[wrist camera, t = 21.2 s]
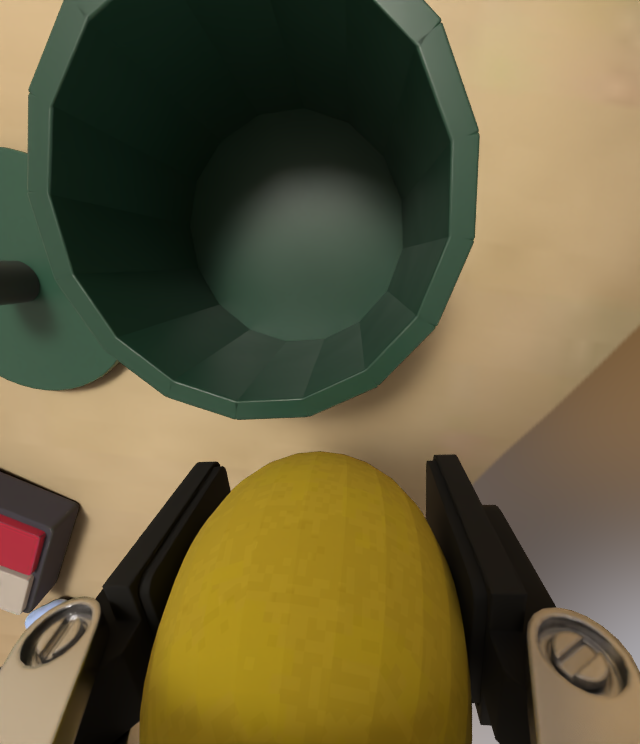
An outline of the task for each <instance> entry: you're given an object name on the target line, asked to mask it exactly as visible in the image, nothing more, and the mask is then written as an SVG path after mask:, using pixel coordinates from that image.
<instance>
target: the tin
mask: <svg viewBox="0 0 640 744" xmlns="http://www.w3.org/2000/svg"><path fill="white" fill-rule="evenodd" d="M440 22H441V18H440V17H439V16H438V15H437V14H436V13H435V12H434V11H433V10H432V9H431V7H430V6H429V5H428V4H427V3H426V2H425V1H424V0H64V1H63V3H62V6H61V8H60V11H59V14H58V16H57V19H56V21H55V24H54V26H53V29H52V31H51V34H50V36H49V39H48V41H47V44H46V46H45V49H44V51H43V54H42V57H41V59H40V62H39V64H38V67H37V69H36V72H35V74H34V77H33V79H32V82H31V84H30V87H29V92H30V93H29V95H28V171H27V190H28V191H29V192H28V193H27V194H28V198H29V201H30V204H31V207H32V210H33V213H34V216H35V219H36V223H37V226H38V229H39V232H40V235H41V238H42V241H43V245H44V248H45V251H46V254H47V257H48V260H49V263H50V266H51V270H52V273H53V276H54V279H55V280H56V283H57V284H58V286H59V287H60V288H61V290H62V291H63V293H64V294H65V295H66V297H67V298H68V300H69V301H70V303H71V304H72V305H73V307H74V308H75V310H76V311H77V312H78V314H79V315H80V317H81V318H82V320H83V321H84V322H85V324H86V325H87V327H88V328H89V329H90V331H91V332H92V334H93V335H94V337H95V338H96V339H97V341H98V342H99V344H100V345H101V346H102V348H103V349H105V351H106V352H107V353H108V354H110V355H111V356H112V357H114V358H115V359H116V360H118V361H119V362H120V363H121V364H123V365H124V366H125V367H127V368H128V369H129V370H131V371H132V372H133V373H135V374H136V375H137V376H139V377H140V378H141V379H143V380H144V381H145V382H147V383H148V384H149V385H151V386H152V387H153V388H155V389H156V390H157V391H159V392H160V393H161V394H163V395H164V396H165V397H168V398H171V399H174V400H177V401H180V402H183V403H186V404H189V405H192V406H195V407H199V408H202V409H205V410H208V411H211V412H214V413H217V414H220V415H223V416H226V417H229V418H232V419H237V420H246V419H271V418H295V417H308V416H312V415H315V414H317V413H319V412H321V411H324V410H326V409H328V408H331V407H333V406H335V405H337V404H340V403H342V402H344V401H346V400H349V399H351V398H353V397H356V396H358V395H360V394H362V393H365V392H367V391H369V390H371V389H374V388H376V387H377V385H380V384H381V383H382V382H383V381H384V380H385V379H386V378H387V377H388V376H389V375H390V374H391V373H392V372H393V371H394V370H395V369H396V368H397V367H398V366H399V365H400V364H401V363H402V362H403V361H404V360H405V359H406V358H407V357H408V356H409V355H410V354H411V353H412V352H413V351H414V349H415V348H416V347H417V346H418V345H419V344H420V343H421V342H422V341H423V340H424V339H425V338H426V337H427V336H428V335H429V334H430V333H431V332H432V331H433V330H434V329H435V326H437V325H438V323H439V321H440V319H441V316H442V314H443V312H444V309H445V307H446V305H447V302H448V300H449V298H450V296H451V293H452V291H453V289H454V286H455V284H456V282H457V280H458V277H459V275H460V273H461V270H462V268H463V266H464V264H465V261H466V259H467V257H468V254H469V252H470V250H471V247H472V245H473V243H474V241H473V240H474V238H475V222H476V201H477V180H478V159H479V138H480V136H479V133H478V131H479V129H478V126H477V123H476V120H475V117H474V114H473V111H472V108H471V105H470V102H469V100H468V97H467V94H466V91H465V88H464V85H463V82H462V79H461V76H460V73H459V70H458V67H457V64H456V61H455V59H454V56H453V53H452V50H451V47H450V44H449V41H448V38H447V35H446V32H445V29H444V26H443V24H442V23H440Z"/></svg>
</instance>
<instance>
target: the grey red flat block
mask: <svg viewBox="0 0 640 744" xmlns="http://www.w3.org/2000/svg"><path fill="white" fill-rule="evenodd" d="M78 510H79V505H78V504H77V503H76V502H74V501H71V500H69V499H67V498H64V497H62V496H59V495H57V494H54V493H52V492H49V491H47V490H44V489H42V488H39V487H37V486H34V485H32V484H29V483H27V482H25V481H22V480H20V479H17V478H15V477H12V476H10V475H7V474H5V473H2V472H0V609H2V610H5V611H8V612H11V613H13V614H16V615H20V614H21V613H22V612H25V613H30V612H31V611H32V610H33V609H34V608H35V607H36V606H37V605H38V603H39V602H40V601H41V600H42V599H43V598H44V596H45V595H46V594H47V593H48V592H49V591H50V589H51V588H52V587H53V586H54V585H55V583H56V581H57V578H58V575H59V572H60V568H61V565H62V562H63V559H64V555H65V552H66V549H67V546H68V542H69V539H70V536H71V533H72V529H73V526H74V523H75V520H76V516H77V513H78Z"/></svg>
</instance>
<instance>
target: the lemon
mask: <svg viewBox="0 0 640 744" xmlns="http://www.w3.org/2000/svg"><path fill="white" fill-rule="evenodd" d="M139 744H472V701H471V684H470V673H469V664H468V655H467V648H466V641H465V634H464V627H463V621H462V615H461V609H460V604H459V599H458V595H457V591H456V587H455V583H454V580H453V577H452V574H451V571H450V568H449V565H448V563H447V561H446V558H445V556H444V554H443V551H442V549H441V547H440V545H439V544H438V542H437V540H436V538H435V536H434V534H433V532H432V530H431V528H430V526H429V524H428V523H427V521H426V519H425V517H424V515H423V513H422V512H421V511H420V509H419V508H418V506H417V505H416V504H415V503H414V501H413V500H412V499H411V498H410V497H409V496H408V495H407V494H406V493H405V492H404V491H403V490H402V489H401V488H400V486H399V485H398V484H397V483H396V482H395V481H394V480H393V479H392V478H390V477H389V476H387V475H385V474H384V473H382V472H381V471H379V470H378V469H376V468H375V467H373V466H371V465H370V464H368V463H366V462H364V461H361V460H358V459H355V458H353V457H350V456H347V455H344V454H337V453H329V452H321V451H319V452H308V453H298V454H294V455H291V456H288V457H285V458H282V459H279V460H276V461H274V462H271V463H269V464H267V465H266V466H264V467H262V468H261V469H259V470H258V471H256V472H255V473H253V474H252V475H250V476H249V477H247V478H246V479H244V480H243V481H241V482H240V483H239V484H238V485H237V486H236V487H235V488H234V489H233V490H232V491H231V492H230V493H229V494H228V495H227V497H226V498H225V499H224V500H223V501H222V503H221V504H220V505H219V506H218V507H217V508H216V510H215V511H214V512H213V513H212V514H211V516H210V517H209V518H208V520H207V521H206V522H205V524H204V525H203V526H202V528H201V529H200V531H199V532H198V534H197V536H196V537H195V539H194V541H193V542H192V544H191V546H190V548H189V550H188V552H187V554H186V556H185V558H184V560H183V562H182V565H181V567H180V569H179V572H178V574H177V577H176V579H175V582H174V585H173V587H172V590H171V593H170V596H169V598H168V601H167V604H166V607H165V610H164V613H163V615H162V618H161V621H160V624H159V627H158V630H157V634H156V637H155V641H154V644H153V648H152V651H151V655H150V660H149V664H148V668H147V673H146V677H145V681H144V688H143V695H142V702H141V709H140V730H139Z"/></svg>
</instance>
